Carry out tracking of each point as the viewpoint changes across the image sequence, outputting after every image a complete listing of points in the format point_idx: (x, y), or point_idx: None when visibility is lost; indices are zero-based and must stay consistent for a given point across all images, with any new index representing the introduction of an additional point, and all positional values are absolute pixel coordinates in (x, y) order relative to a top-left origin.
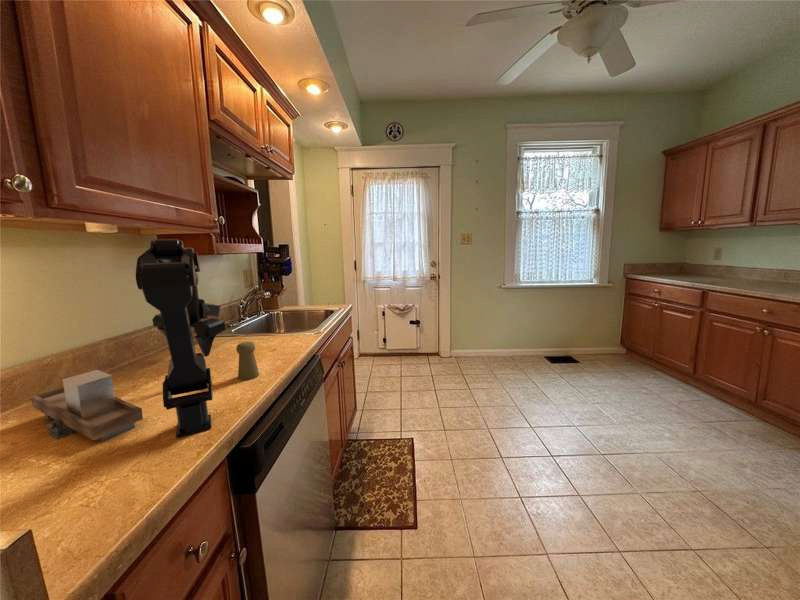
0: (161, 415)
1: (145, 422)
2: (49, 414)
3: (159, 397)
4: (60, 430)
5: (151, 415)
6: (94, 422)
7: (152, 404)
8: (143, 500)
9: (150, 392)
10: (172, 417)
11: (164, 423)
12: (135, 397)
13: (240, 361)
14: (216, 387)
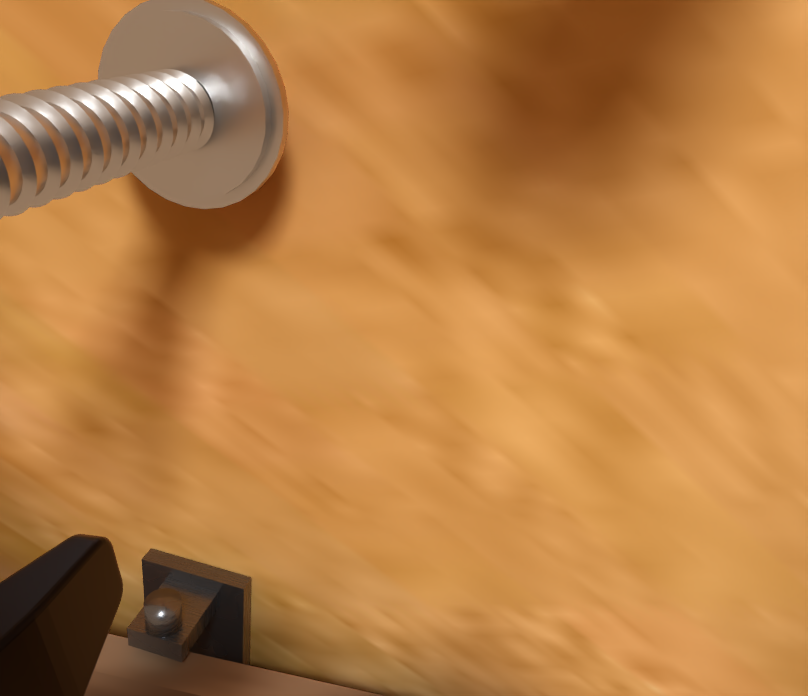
0: (555, 605)
1: (532, 677)
2: None
3: (238, 368)
4: None
5: (478, 605)
6: None
7: (312, 472)
8: None
9: (67, 299)
10: (673, 628)
11: (686, 691)
12: (65, 389)
13: None
14: (608, 64)
